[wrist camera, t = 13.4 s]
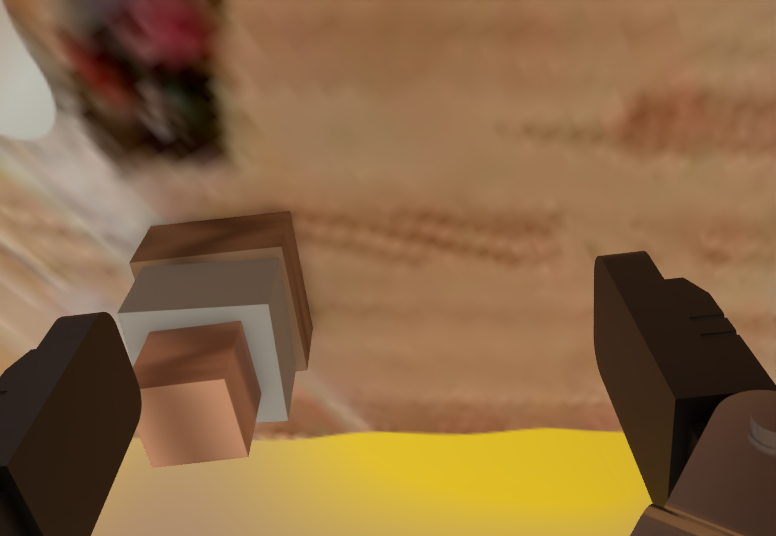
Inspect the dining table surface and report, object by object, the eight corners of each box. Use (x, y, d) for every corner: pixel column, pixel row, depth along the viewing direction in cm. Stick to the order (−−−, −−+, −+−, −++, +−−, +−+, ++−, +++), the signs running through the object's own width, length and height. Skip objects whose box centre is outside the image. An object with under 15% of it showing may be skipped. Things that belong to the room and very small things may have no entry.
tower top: (278, 258, 43) (268, 304, 39) (295, 367, 47) (287, 420, 43) (143, 266, 44) (117, 313, 39) (171, 375, 47) (150, 428, 43)
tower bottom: (290, 209, 47) (281, 246, 43) (312, 326, 52) (307, 370, 47) (151, 224, 48) (129, 262, 43) (186, 339, 52) (169, 383, 48)
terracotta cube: (241, 320, 40) (224, 378, 35) (261, 394, 42) (248, 457, 38) (149, 332, 40) (121, 391, 35) (175, 404, 42) (152, 468, 38)
